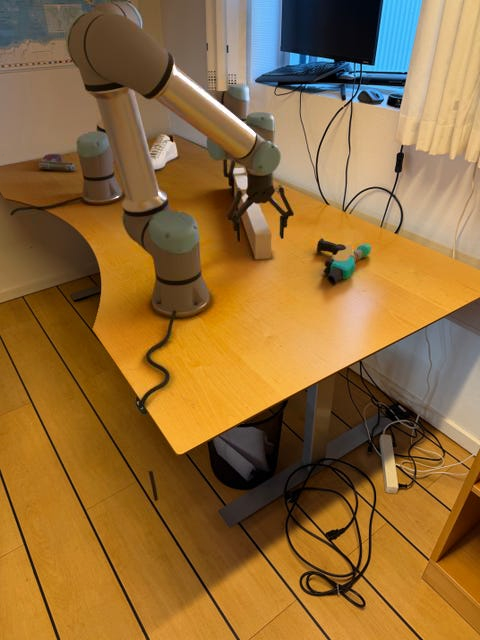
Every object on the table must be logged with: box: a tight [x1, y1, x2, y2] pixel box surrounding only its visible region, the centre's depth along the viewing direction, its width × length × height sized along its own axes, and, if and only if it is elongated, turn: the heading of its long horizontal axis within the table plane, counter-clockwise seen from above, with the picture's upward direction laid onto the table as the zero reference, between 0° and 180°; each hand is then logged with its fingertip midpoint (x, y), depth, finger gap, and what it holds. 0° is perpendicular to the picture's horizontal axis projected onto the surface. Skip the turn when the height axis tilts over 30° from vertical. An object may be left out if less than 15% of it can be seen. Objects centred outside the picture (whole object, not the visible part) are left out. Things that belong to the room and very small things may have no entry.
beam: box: [232, 167, 273, 260], centre depth 166 cm, size 60×5×8 cm, turn 8°
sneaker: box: [149, 133, 179, 171], centre depth 214 cm, size 10×29×12 cm, turn 163°
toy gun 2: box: [316, 237, 372, 286], centre depth 138 cm, size 4×26×15 cm
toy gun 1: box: [37, 153, 77, 172], centre depth 215 cm, size 4×19×15 cm
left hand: (239, 193), depth 186 cm, fingers closed on beam, 5 cm apart
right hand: (260, 238), depth 148 cm, fingers open, 13 cm apart
